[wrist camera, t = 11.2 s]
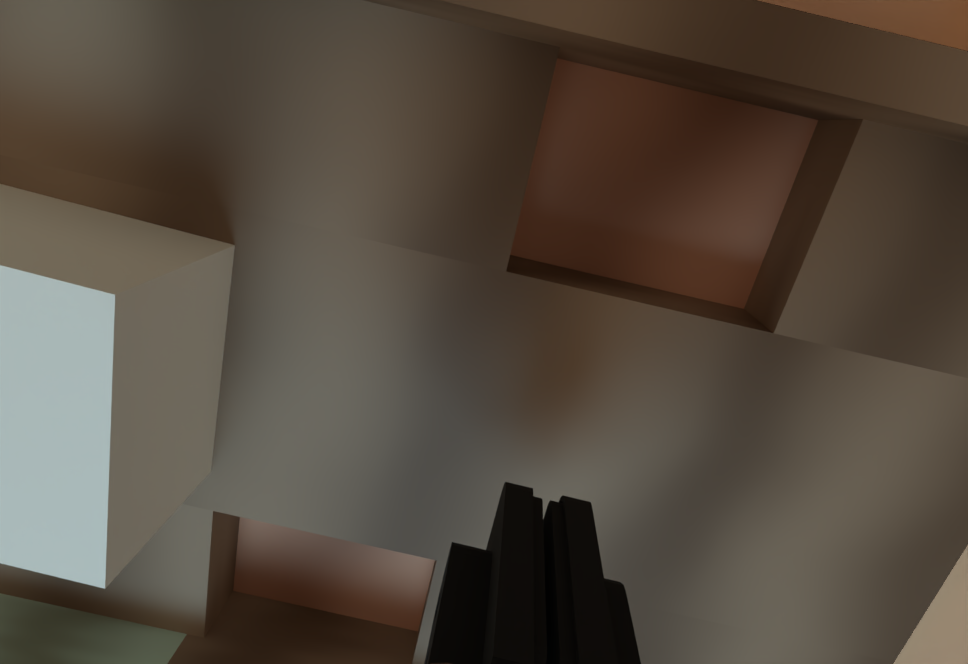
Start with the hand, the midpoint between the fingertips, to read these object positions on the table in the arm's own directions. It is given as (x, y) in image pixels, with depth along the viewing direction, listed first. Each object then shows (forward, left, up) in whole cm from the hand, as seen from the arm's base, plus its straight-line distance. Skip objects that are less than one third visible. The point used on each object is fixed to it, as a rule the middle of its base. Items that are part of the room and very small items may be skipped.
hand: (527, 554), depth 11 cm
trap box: (+2, -1, -5) cm, 6 cm away
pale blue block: (+11, -1, -3) cm, 11 cm away
